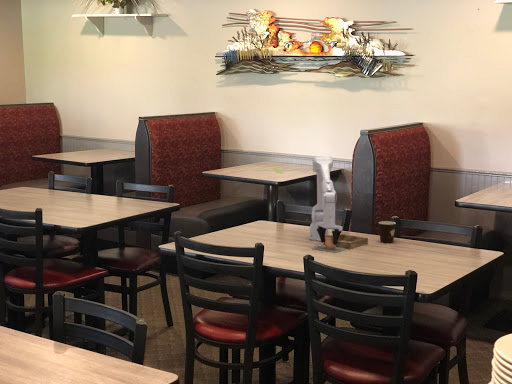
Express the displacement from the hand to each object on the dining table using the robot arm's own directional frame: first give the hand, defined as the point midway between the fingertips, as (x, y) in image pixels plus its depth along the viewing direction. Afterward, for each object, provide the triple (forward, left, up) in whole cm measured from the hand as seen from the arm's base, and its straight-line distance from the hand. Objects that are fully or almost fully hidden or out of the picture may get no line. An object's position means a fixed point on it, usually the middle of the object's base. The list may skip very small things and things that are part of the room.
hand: (329, 243), depth 334 cm
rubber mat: (0, 0, -3) cm, 3 cm away
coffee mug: (+14, +34, -3) cm, 36 cm away
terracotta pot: (0, +1, -3) cm, 3 cm away
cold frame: (0, +14, -3) cm, 15 cm away
